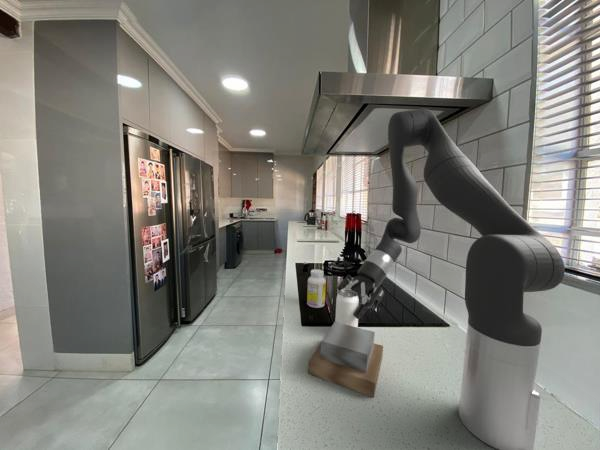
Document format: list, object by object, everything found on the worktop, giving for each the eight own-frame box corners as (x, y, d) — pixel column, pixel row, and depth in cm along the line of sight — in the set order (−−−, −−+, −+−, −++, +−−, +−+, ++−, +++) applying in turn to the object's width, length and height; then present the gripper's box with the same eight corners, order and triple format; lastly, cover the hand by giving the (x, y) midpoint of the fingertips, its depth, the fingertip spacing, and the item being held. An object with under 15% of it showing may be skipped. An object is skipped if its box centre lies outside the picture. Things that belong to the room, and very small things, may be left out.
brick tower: (382, 357, 59) (384, 330, 59) (373, 397, 47) (376, 363, 46) (328, 341, 65) (329, 316, 65) (307, 373, 53) (309, 342, 52)
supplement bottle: (320, 300, 93) (322, 268, 92) (327, 307, 87) (329, 273, 86) (304, 301, 91) (305, 268, 90) (310, 309, 85) (311, 273, 84)
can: (340, 340, 66) (342, 297, 65) (331, 328, 73) (333, 289, 72) (361, 337, 68) (364, 296, 67) (350, 326, 74) (352, 288, 73)
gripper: (353, 255, 79) (323, 295, 74) (389, 266, 67) (356, 314, 62) (364, 269, 82) (336, 308, 77) (400, 282, 70) (369, 329, 65)
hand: (345, 310), depth 69 cm, fingers open, 8 cm apart
